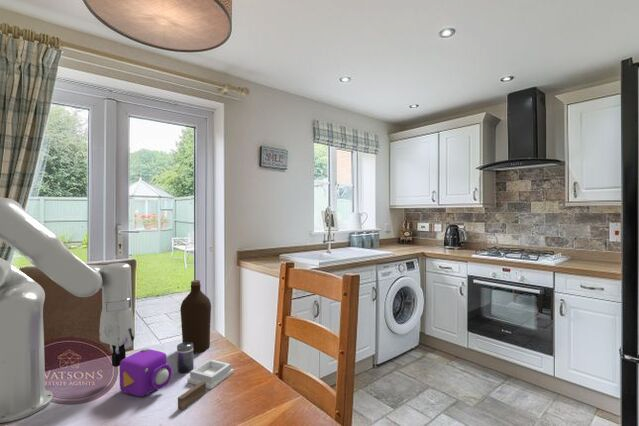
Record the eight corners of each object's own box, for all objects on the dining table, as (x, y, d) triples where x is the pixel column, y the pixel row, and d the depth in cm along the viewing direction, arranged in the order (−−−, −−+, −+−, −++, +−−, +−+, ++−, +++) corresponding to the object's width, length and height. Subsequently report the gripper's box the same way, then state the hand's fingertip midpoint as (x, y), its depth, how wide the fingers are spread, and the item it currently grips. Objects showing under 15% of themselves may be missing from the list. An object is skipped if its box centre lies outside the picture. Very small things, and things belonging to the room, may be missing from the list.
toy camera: (156, 402, 85) (155, 365, 85) (112, 396, 88) (112, 361, 88) (181, 380, 96) (180, 348, 96) (141, 376, 99) (141, 344, 99)
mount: (187, 382, 95) (187, 372, 95) (211, 366, 104) (211, 357, 104) (211, 389, 92) (210, 378, 91) (233, 372, 101) (233, 363, 101)
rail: (177, 409, 83) (177, 397, 83) (201, 391, 90) (201, 381, 90) (182, 410, 82) (182, 398, 82) (205, 392, 90) (205, 382, 90)
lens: (173, 371, 101) (173, 346, 101) (185, 364, 106) (185, 340, 106) (185, 374, 99) (184, 349, 99) (197, 367, 104) (196, 343, 104)
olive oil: (205, 354, 113) (204, 284, 112) (175, 354, 113) (174, 284, 113) (215, 342, 124) (214, 277, 123) (188, 341, 124) (187, 277, 123)
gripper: (88, 305, 96) (90, 365, 96) (122, 311, 90) (123, 375, 90) (113, 298, 103) (114, 354, 103) (145, 303, 97) (147, 363, 97)
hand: (118, 364), depth 97 cm, fingers closed
